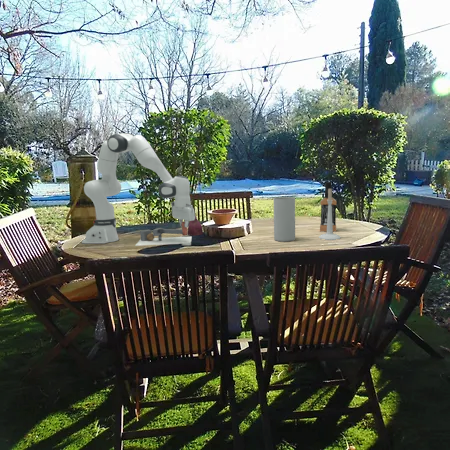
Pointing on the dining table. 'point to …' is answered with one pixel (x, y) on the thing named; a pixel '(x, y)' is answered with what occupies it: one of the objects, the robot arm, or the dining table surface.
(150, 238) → the brown ball
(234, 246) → the dining table surface
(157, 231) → the lever
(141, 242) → the board
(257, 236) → the dining table surface
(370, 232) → the dining table surface
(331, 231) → the candlestick
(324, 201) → the whiskey bottle
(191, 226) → the vegetable
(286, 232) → the cylinder vase
